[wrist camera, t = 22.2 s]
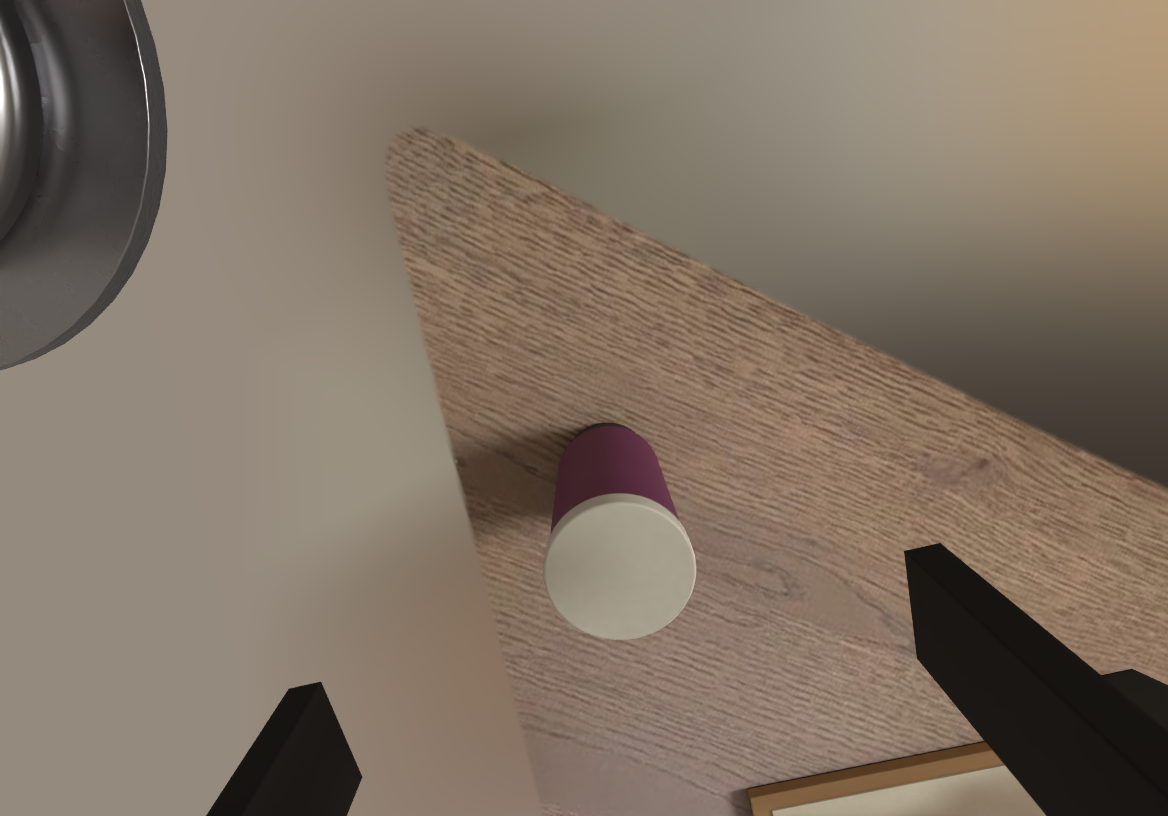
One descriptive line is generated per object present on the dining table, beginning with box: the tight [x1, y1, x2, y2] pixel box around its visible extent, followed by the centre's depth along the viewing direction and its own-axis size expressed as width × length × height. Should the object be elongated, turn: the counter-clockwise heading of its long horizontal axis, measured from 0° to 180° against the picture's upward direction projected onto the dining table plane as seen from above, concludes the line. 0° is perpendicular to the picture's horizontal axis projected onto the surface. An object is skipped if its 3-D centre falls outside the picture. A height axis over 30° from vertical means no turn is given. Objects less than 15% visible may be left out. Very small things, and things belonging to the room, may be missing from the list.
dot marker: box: [543, 423, 696, 640], centre depth 23 cm, size 5×5×10 cm
